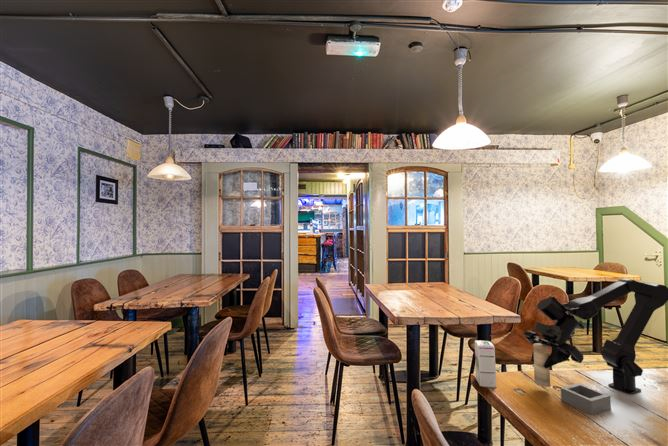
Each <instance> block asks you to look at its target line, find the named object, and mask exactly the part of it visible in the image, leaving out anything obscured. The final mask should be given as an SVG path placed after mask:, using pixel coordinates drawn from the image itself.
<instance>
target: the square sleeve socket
mask: <svg viewBox="0 0 668 446" xmlns="http://www.w3.org/2000/svg"><path fill="white" fill-rule="evenodd" d="M560 400H561V401H562V402H564V403H566V404H568V405H570V406H573V407H574V408H577V409H578V410H581V411H583V412H585V413H587V414H589V415H593V416H594V415H596V414H599V413H603V412H606V411H609V410H612V408H611V407H612V404H611V403H612V402H611V395H610V394H607V393H604V392H602V391H599V390H597V389H595V388H592V387H589V386H587V385H584V384H582V383H580V382H577V383H575V384H574V383H573V384H570V385H565V386H562V387H560Z"/></svg>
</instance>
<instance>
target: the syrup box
mask: <svg viewBox="0 0 668 446" xmlns="http://www.w3.org/2000/svg"><path fill="white" fill-rule="evenodd" d="M495 347H496V346H494V344H493V343H492V342H491V341H490V340H481V339H480V340H474V358H475V360H474V361H475V365H474V366H475V380H476V382H477V383H478V385H479V387H485V388H497V371H496V370H497V369H496V354H495V353H496V349H495Z"/></svg>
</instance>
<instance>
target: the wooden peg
mask: <svg viewBox="0 0 668 446" xmlns="http://www.w3.org/2000/svg"><path fill="white" fill-rule="evenodd" d="M533 350H534V363H533V372H534V375H533V376H534V384H536V385H537V386H540V387H544V388H545V387H546V388H549V387H551V369H550V368H551V367H549V368H544V364H545V362H546V360H547V359H548V357H549V356H550V347H549V346H548V345H545V344H540V343H534V344H533V346H532V351H533Z"/></svg>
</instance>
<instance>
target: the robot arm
mask: <svg viewBox="0 0 668 446" xmlns="http://www.w3.org/2000/svg"><path fill="white" fill-rule="evenodd" d="M629 293H634V294H633V295H634V296H633V297H634V302H635V303H634V306H633V307H632V309H631V311H630V313H629V314H628V316H627V318H626V320H625V322H624V324H623V325H622V327H621V329H620V331H619V332H618V335H617V337H616V338H614V339H612V340H610V339H606V340H605V342H604V344H603V346H602V347H601V348H600V349H601V352H600V355H601V357H602V359H603V360H604V361H605V363H606V365H607V366H608V367H611V368H612V383H608V384H607V386H609V387H611V388H614V389H616V390H618V391H621V392H624V393H627V394H629V395H631V394H635V393H639V392H642V389H641V388H639V387H636V378H637V377H642V375H643V371H644V369H643V368H642V367H640V366H639V365H638V364H637V363H636V362H635V361H636V357H637V355H636V348H635V347H636V345H637V343H638V341H639V339H640V338H641V335H642V333H643V332H644V330H645V328H646V327H647V325H648V323H649V321H650V320H651V317H652V315H653V314H654V312H655V311H656V310H658V309H660V308H662V307H663V306H665V305H666V304H667V303H668V287H667V286H666V285H664V284H659V283H653V282H646V281H645V282H644V281H643V282H641V281H636V280H634V279H630V278H620V279H618V280H617V281H614V282H613V283H612V284H610V285H608V286H606V287H604V288H603V289H600V290H598V291H596V292H595V293H592V294H591V295H587V296H583V297H578V298H575V299H571V300H570V301H567V303H561V302H560V301H559V300H557V298H556V297H555V296H553V295H550V296H549V297H547V298H546V297H545V298H544V299H542V300H540V301H539V302H538V303H537V305H536V309H537V310H538V311H539V312H540V313H542V314H543V315H544V316H545V317H547V319H549V320H550V321H555V322H554V323H553V324H545V323H541V322H538V321H536V323H535V326H534V329H533V331H532V330H525V332H524V333H523V337H524V338H525V339H526V340H527V341H528V342H529V344H531V345H533V344H534V343H540V344H545V345H548V346H549V348H551V352H550V353H549V357H548V359H547V360H546V362H545V364H544V368H549V367H550V368H552V367H553V366H556V365H558V364H560V363H563V362H570V358H571V361H573V362H575V363H579V364H582V362H583V361H584V359H585V358H584V354H583V353H582V352H581V351H580V350H579V349H578V348H577V346H576V345H572V344H569V343H568V342H572V341H573V338H572V337H571V336H572V335H573V333H574V332H575V330H576V329H580V330H584V329H585V327H584V324H583V321H582V320H584V321H585V320H586V321H587V320H591V319H592V318H594V317H595V316H596V315H598V313H599V312H600V310H601V309H602V308H603V307H604V306H606V305H609V304H610V303H612V302H614V301H616V300H618V299H620V298H622V297H624V296H626V295H628V294H629ZM576 317H577V318H579V319H582V320H578V319H577V318H576ZM537 332H538V333H540V335H539V334H538V333H537ZM531 362H532V363H533V364H534V350H533V349H532V355H531Z"/></svg>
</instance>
